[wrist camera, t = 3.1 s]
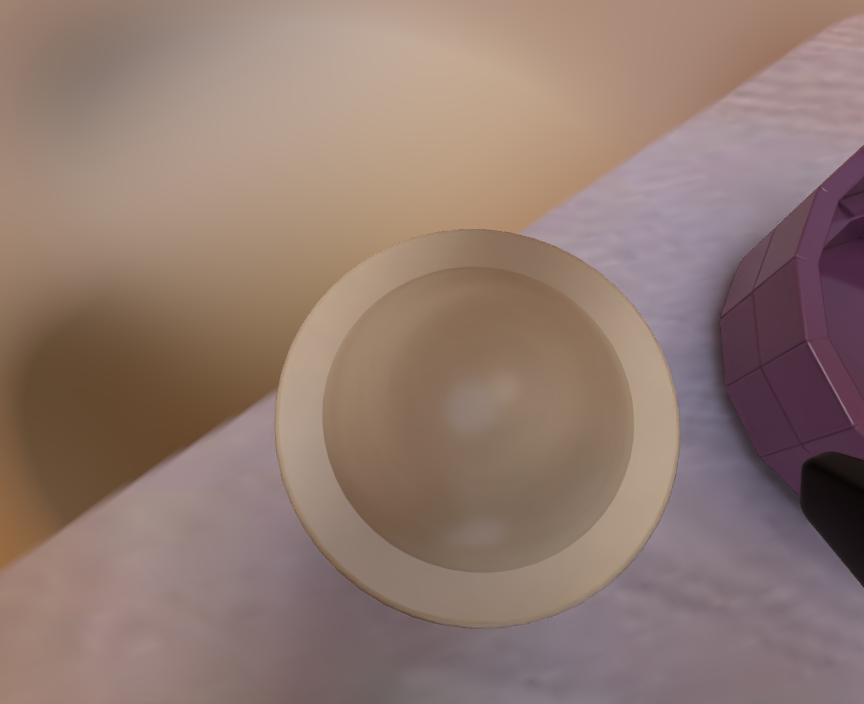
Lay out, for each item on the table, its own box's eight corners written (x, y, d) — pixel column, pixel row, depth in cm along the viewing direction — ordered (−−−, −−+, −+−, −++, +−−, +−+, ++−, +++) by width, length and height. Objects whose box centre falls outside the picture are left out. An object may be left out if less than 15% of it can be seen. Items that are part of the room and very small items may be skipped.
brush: (552, 463, 19) (787, 282, 7) (484, 622, 18) (629, 744, 6) (405, 392, 20) (385, 112, 8) (328, 542, 18) (151, 492, 6)
